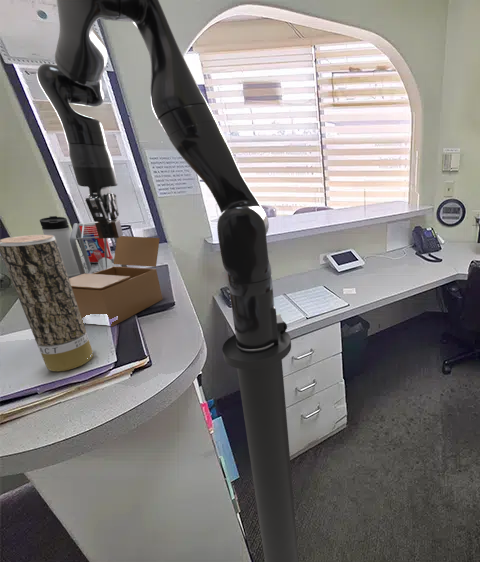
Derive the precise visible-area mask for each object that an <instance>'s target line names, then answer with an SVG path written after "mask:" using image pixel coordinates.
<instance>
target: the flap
mask: <svg viewBox="0 0 480 562" xmlns="http://www.w3.org/2000/svg"><path fill="white" fill-rule="evenodd" d="M160 240H161V239H160V237H149V236H147V237H146V236H129V235H122V236H121V237H119V238H117V242H116V243H115V248H114V249H115V251H114V256H113V257H114V258H113V265H118V266H119V265H120V266H121V265H127V266H137V267H152V268H157V262H158V257H159V256H158V255H159V248H160Z"/></svg>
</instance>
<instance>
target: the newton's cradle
mask: <svg viewBox="0 0 480 562" xmlns="http://www.w3.org/2000/svg"><path fill="white" fill-rule="evenodd" d="M87 223H88V222H87ZM91 224H95V223H88V224H80V223H77V222H76V223H73V225H72V229H71V236H70V243H71V247H72V250H73V253H74V256H75V260H76V263H77V266H78V269H79V272H80V275H81V274H84V273H86V270H87V274H93V273H96V272H99V271H102V270H105V269H108V268H111V267H114V264H113V261H112V259H111V260H110V259H108V258H107V247H106V238H104V245H105V258H101V257H102V256H101V257H99V258H101V259H99V258H97V257H98V256H100V255H101V254H100V252H99V251H97V250H98V249H96V248H97V247H96V245H95V244H93V243H94V242H92V241H93V240H92V241H90V240H91V239H92V238H99V236H95V237H91V236H90V235H94V234H90V235H88V234H89V233H91V232H88V231H90V230H87V229H90V228H85V229H86V230H85V231H87V232H85V231H84V225H91ZM79 225H83V227H82V234H81V231H80V228H79ZM87 227H91V226H87ZM84 232H85V233H87V234H86V235H88V236H90V237H88V236H86V235H85V236H86V237H85V236H84V235H83V233H84ZM85 233H84V234H85ZM83 236H84V237H83ZM89 238H91V239H89ZM83 239H86V240H88V239H89V240H88V241H90V242H92V243H91V244H93V245H95V246H93V245H91V244H89V243H90V242H89V243H88V244H89V246H90V245H91V246H90V247H92V246H93V247H92V248H94V247H96V248H94V249H96V250H95V251H97V252H99V253H97V252H95V251H93V250H94V249H93V250H92V251H93V253H94V252H95V253H94V254H96V253H97V254H96V255H98V254H100V255H98V256H97V257H96V258H97V260H98V259H99V260H98V263H97V268H98V269H97V270H94V271H93V268H92V263H90V261H89V258H88V254H87V251H86V248H85V244H84V241H83ZM113 239H114V242H115V244H116V242H117V238H113ZM77 240H78V243H79V247H80V250H81V252H82V256H83V259H84V263H85V265H86V270H85V267H84V263H83V260H82V257H81V255H80V252H79V248H78V245H77ZM88 241H87V242H88ZM92 248H91V249H92ZM96 255H95V256H96ZM120 267H128V265H120Z"/></svg>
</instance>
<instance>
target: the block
mask: <svg viewBox="0 0 480 562" xmlns="http://www.w3.org/2000/svg"><path fill="white" fill-rule="evenodd" d="M111 224H112V228H113V232H114V237H113V238H112V239H114V238H119V237H121V236H124V232H123V228H122V225H121V221H120V219H116V220H111ZM95 225H96V229H97V232H98V236H99V239H103V238H104V237H103V236H102V232H101V228H100V225H99V223H97V222H96V223H95Z"/></svg>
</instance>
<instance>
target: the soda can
mask: <svg viewBox="0 0 480 562" xmlns="http://www.w3.org/2000/svg"><path fill="white" fill-rule="evenodd" d="M88 223H96V222H95V221H91V222H81V223H79V224H88ZM87 226H91V227H87ZM82 227H83V225H79V228H80V231H81V234H82ZM85 228H90V229H87V230H90V231H88V232H91V233H89V234H88V235H90V234H94V235H90V236H91V237H95V236H98V232H97V229H96V225H95V224H91V225H84V231H85V230H86V229H85ZM85 232H87V231H85ZM85 232H84V233H85ZM84 233H83V235H84V236H85V235H86V234H87V233H85V234H84ZM88 235H86V236H88ZM84 236H83V237H84ZM86 236H85V237H86ZM90 236H88V237H90ZM89 239H91V238H89ZM89 239H88V240H89ZM88 240H86V239H83V241H84V244H85V248H86V251H87V254H88V258H89V261H90V264H98V260H99V259H101V258H105V245H104V238H103V239H99V238H92V239H91V240H90V241H92V240H93V241H92V242H94V243H93V244H95V245H96V247H97V248H96V247H94V248H96V249H98V250H97V251H99V252H100V254H101V255H100V254H98V255H100V256H98V255H96V254H97V253H99V252H97V251H95V250H96V249H94V248H92V247H93V246H95V245H93V244H91V243H92V242H90V241H88ZM87 241H88V242H87ZM89 242H90V243H89ZM88 243H89V244H91V245H93V246H92V247H90V246H91V245H90V246H89V244H88ZM106 247H107V258H108V259H110V260H111V261H112V260H113V259H114V258H113V257H114V256H113V254H112V250H111V249H112V248H111V247H110V243H109V238H106ZM91 248H92V249H91ZM93 249H94V250H93ZM92 250H93V251H95V252H97V253H96V254H94V253H95V252H94V253H93V251H92ZM95 255H96V256H95ZM97 256H98V257H97ZM101 256H102V257H101ZM96 257H97V258H99V257H101V258H99V259H98V260H97V258H96Z"/></svg>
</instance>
